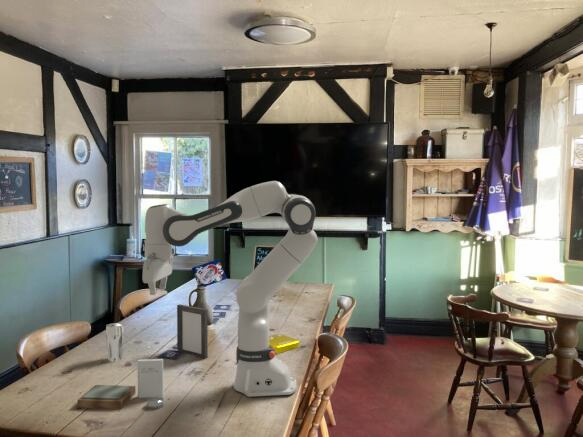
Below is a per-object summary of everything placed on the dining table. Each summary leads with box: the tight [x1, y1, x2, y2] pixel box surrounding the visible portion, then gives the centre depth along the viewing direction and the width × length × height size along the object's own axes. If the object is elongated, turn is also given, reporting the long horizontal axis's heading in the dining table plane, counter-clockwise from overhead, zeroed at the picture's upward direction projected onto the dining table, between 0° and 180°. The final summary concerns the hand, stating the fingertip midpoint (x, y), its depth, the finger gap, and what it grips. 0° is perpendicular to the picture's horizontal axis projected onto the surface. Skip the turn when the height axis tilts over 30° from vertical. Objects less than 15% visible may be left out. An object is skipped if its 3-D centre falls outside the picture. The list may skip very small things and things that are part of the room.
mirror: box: [77, 384, 136, 410], centre depth 158 cm, size 14×12×3 cm
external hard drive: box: [137, 358, 164, 399], centre depth 161 cm, size 2×8×12 cm, turn 96°
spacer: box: [146, 397, 164, 410], centre depth 154 cm, size 5×5×2 cm
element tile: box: [269, 333, 300, 355], centre depth 212 cm, size 15×15×5 cm
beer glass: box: [105, 322, 125, 363], centre depth 194 cm, size 7×7×15 cm
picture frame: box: [176, 303, 209, 360], centre depth 200 cm, size 16×2×21 cm, turn 56°
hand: (158, 291), depth 165 cm, fingers open, 8 cm apart
